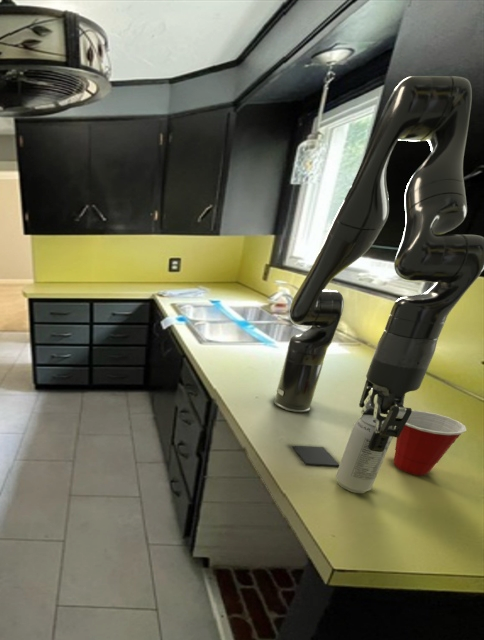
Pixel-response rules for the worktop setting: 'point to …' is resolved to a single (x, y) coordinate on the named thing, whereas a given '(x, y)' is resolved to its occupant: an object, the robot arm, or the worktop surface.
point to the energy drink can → (360, 458)
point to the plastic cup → (425, 441)
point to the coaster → (315, 456)
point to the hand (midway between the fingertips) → (368, 440)
